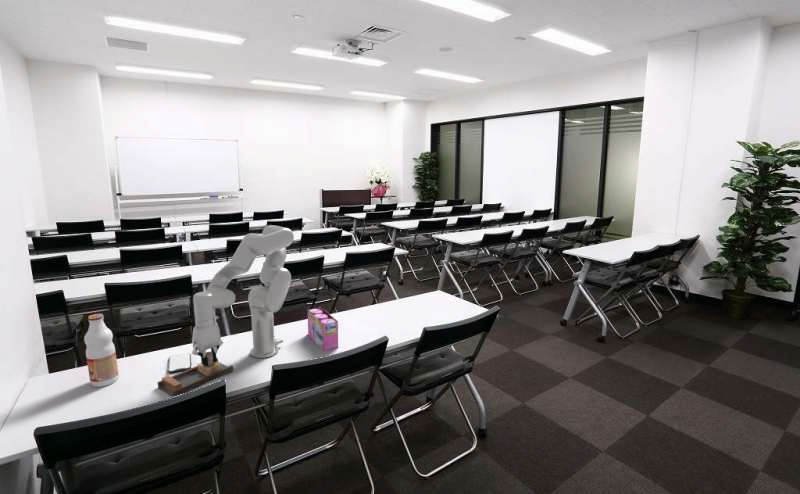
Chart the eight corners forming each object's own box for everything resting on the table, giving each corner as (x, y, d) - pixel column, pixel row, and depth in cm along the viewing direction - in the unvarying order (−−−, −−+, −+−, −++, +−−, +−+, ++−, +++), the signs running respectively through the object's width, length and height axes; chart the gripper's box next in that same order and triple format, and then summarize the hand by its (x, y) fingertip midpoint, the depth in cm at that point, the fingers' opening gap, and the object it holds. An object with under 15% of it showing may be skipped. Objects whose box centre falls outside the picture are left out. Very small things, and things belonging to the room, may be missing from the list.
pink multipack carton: (306, 333, 216) (305, 308, 213) (321, 330, 220) (320, 305, 217) (323, 351, 196) (322, 324, 193) (339, 347, 200) (338, 321, 197)
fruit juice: (110, 387, 163) (101, 320, 157) (85, 388, 162) (74, 320, 156) (123, 375, 172) (115, 311, 166) (99, 375, 171) (90, 311, 165)
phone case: (169, 359, 187) (168, 375, 173) (168, 356, 186) (167, 371, 172) (191, 355, 191) (191, 370, 177) (190, 352, 190) (191, 367, 176)
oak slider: (211, 365, 178) (209, 348, 177) (222, 370, 174) (220, 353, 172) (197, 371, 174) (196, 353, 172) (208, 376, 169) (207, 358, 168)
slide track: (217, 363, 183) (216, 354, 182) (233, 371, 176) (232, 362, 175) (158, 387, 163) (157, 378, 162) (173, 398, 156) (172, 388, 155)
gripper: (218, 314, 178) (222, 353, 182) (180, 326, 165) (185, 368, 169) (229, 318, 174) (232, 358, 178) (191, 330, 161) (195, 374, 164)
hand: (209, 363), depth 173 cm, fingers closed on oak slider, 3 cm apart
